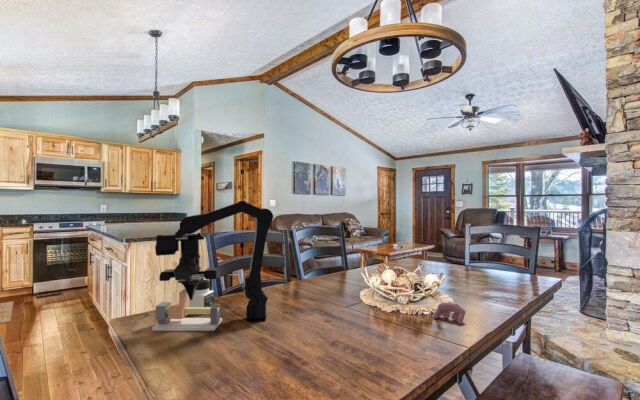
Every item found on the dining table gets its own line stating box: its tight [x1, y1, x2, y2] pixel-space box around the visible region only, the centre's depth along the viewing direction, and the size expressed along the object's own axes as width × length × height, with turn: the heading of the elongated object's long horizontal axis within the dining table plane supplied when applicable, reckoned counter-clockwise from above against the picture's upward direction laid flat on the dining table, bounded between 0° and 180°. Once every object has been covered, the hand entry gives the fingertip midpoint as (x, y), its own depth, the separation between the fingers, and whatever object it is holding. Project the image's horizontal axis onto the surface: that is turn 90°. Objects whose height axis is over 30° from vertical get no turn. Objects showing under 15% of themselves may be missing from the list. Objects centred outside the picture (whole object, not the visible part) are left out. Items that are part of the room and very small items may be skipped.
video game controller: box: [434, 301, 466, 325], centre depth 119 cm, size 10×5×7 cm, turn 48°
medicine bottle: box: [189, 278, 215, 307], centre depth 127 cm, size 7×7×12 cm
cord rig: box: [151, 301, 223, 332], centre depth 112 cm, size 20×9×7 cm, turn 91°
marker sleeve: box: [170, 288, 189, 319], centre depth 112 cm, size 4×6×9 cm, turn 1°
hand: (191, 299), depth 112 cm, fingers closed
